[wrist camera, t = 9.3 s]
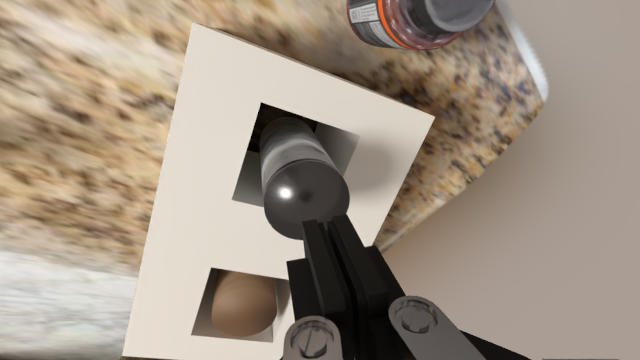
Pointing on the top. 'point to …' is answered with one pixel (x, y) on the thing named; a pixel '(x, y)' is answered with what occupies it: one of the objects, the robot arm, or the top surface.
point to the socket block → (251, 190)
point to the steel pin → (298, 178)
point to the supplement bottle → (414, 21)
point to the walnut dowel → (243, 303)
